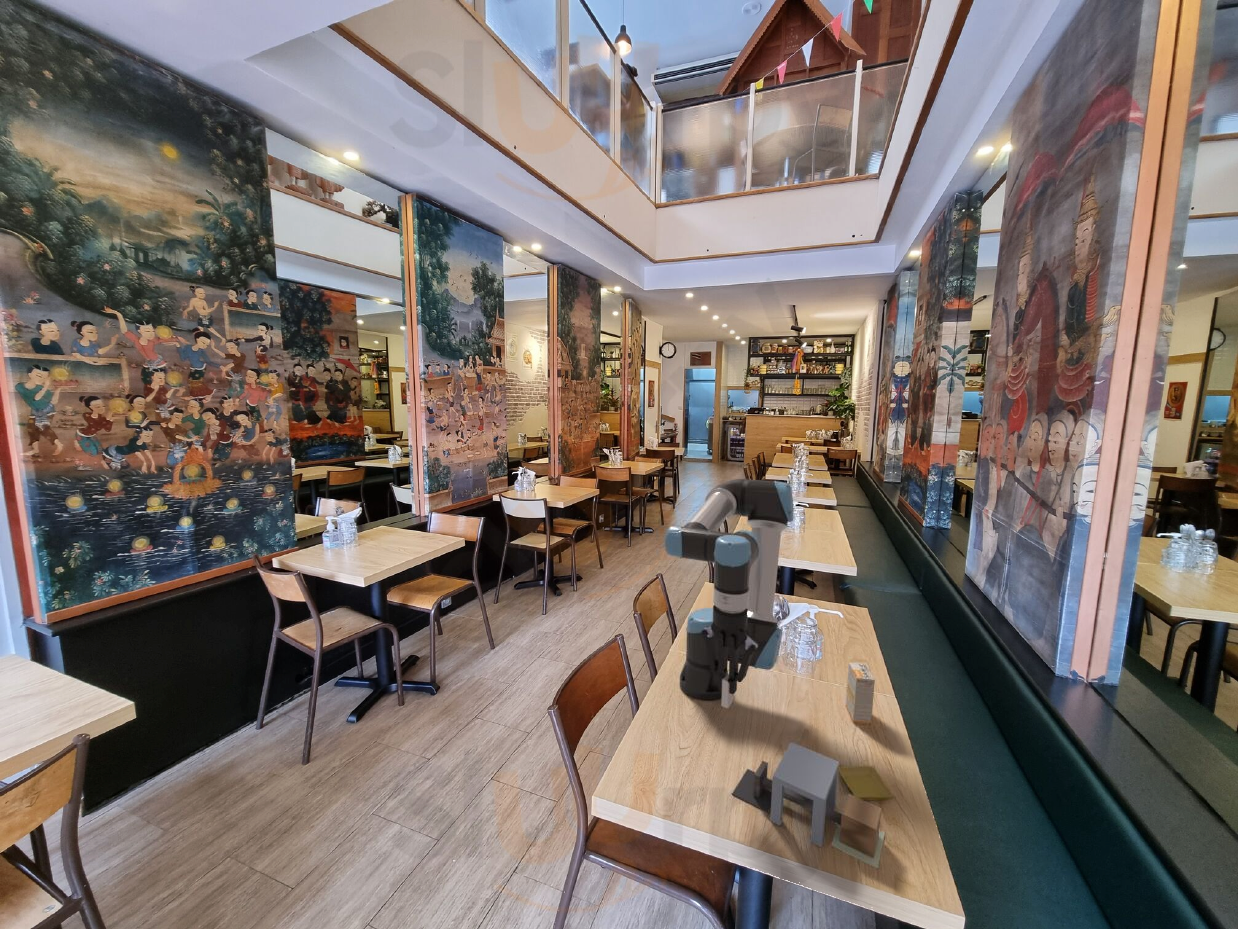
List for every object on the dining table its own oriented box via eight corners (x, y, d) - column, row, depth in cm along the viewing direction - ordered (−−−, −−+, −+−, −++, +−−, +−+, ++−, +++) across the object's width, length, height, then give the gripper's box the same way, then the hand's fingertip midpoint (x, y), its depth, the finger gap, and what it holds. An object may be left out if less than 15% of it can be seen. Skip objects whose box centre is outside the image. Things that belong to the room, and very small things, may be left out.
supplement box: (872, 726, 129) (876, 680, 128) (852, 723, 130) (856, 678, 129) (863, 707, 137) (866, 663, 136) (844, 704, 138) (848, 661, 137)
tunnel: (770, 820, 100) (772, 775, 99) (788, 783, 110) (791, 742, 108) (821, 847, 94) (824, 800, 93) (835, 805, 104) (839, 762, 102)
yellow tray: (894, 805, 105) (895, 796, 104) (854, 805, 104) (855, 797, 104) (872, 774, 113) (872, 765, 113) (835, 774, 113) (836, 766, 113)
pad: (831, 845, 94) (831, 844, 94) (841, 814, 102) (841, 813, 102) (877, 869, 90) (877, 867, 90) (884, 834, 97) (884, 833, 97)
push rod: (752, 797, 105) (753, 772, 104) (762, 780, 110) (763, 756, 109) (873, 858, 91) (876, 830, 91) (878, 835, 96) (881, 808, 95)
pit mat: (732, 794, 106) (732, 793, 106) (747, 769, 114) (747, 768, 114) (768, 813, 102) (768, 812, 102) (781, 785, 109) (781, 784, 109)
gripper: (695, 604, 108) (693, 701, 111) (752, 621, 100) (748, 724, 104) (710, 593, 114) (708, 685, 117) (765, 608, 106) (760, 706, 110)
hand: (726, 704), depth 111 cm, fingers closed
